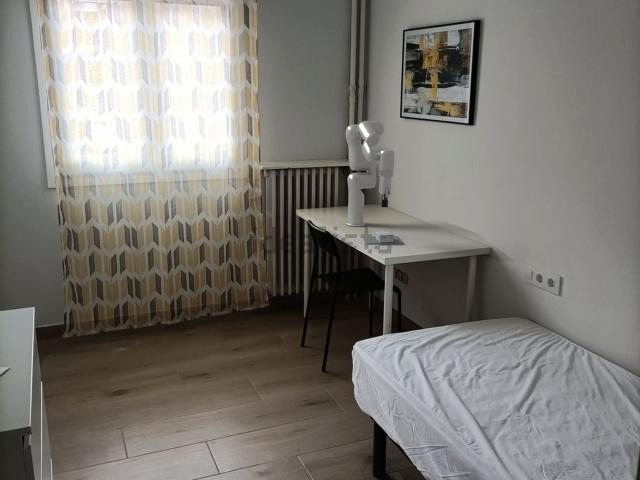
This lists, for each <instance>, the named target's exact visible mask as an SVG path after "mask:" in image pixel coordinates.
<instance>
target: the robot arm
mask: <svg viewBox="0 0 640 480" xmlns="http://www.w3.org/2000/svg"><path fill="white" fill-rule="evenodd" d="M384 132H385V126H384V124H383V123H382V122H381V120H364V121H361V122H360V123H358V124H350V125H348V126H346V129H345V139H346V143H347V146H348V162H349V163H348V165H349V168H350V170H352V171H366V172H353V173H350V174H349V175H348V176H347V186H348V190H347V191H348V204H347V206H348V207H347V220H346V221H345V222H344V224H345V225H346V226H349V227H364V226H365V227H366V225H367V223H366V222H365V221H364V214H365V211H364V210H365V194H364V193H363V191H362V190H363V189H373V188H375V187H376V185H377V163H379V169H378V170H379V171H378V172H379V173H378V176H379V186H378V193H379V194H380V195H381V208H388V207H389V196H390V195H391V193H392V192H391V191H392V177H394V169H395V168H394V164H395V151H394V150H392V149H390V148H388V147H375V146H377V145H378V143H379V142H380V140H381V138H380V137H381V136H382V135H383V134H384ZM360 140H363V143H361V142H360Z"/></svg>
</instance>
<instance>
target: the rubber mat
mask: <svg viewBox="0 0 640 480" xmlns="http://www.w3.org/2000/svg"><path fill="white" fill-rule="evenodd" d="M363 240H364V242H365V243H366V245H405V242H404V241H403V240H402V239H401V238H400V236H396V235H394V242H387V243H380V242H379V241H378V240H377V239H376V235H375V236H371V235H370V236H364V235H363Z"/></svg>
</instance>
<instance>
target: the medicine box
mask: <svg viewBox="0 0 640 480" xmlns="http://www.w3.org/2000/svg"><path fill="white" fill-rule="evenodd" d="M375 236H376V239H377V240H378V241H379V242H380V243H387V242H394V236H395V235H394V233H393V232H391V231H390V230H387V231H386V230H383V231H381V230H380V231H376V232H375Z"/></svg>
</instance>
